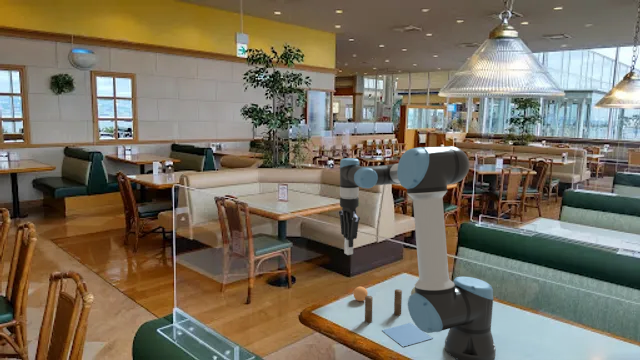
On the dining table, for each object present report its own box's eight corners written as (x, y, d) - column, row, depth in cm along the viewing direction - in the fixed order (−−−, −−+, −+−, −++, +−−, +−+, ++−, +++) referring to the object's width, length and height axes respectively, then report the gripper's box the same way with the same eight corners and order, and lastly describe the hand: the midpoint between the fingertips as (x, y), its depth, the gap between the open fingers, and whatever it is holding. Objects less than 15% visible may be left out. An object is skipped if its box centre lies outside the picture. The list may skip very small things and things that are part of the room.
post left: (373, 321, 162) (373, 298, 160) (367, 323, 160) (367, 299, 159) (369, 318, 164) (369, 295, 162) (363, 320, 163) (363, 296, 161)
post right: (402, 314, 167) (403, 291, 166) (396, 315, 166) (397, 292, 164) (398, 311, 169) (399, 288, 168) (392, 313, 168) (393, 290, 167)
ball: (370, 301, 178) (370, 288, 177) (357, 304, 175) (358, 291, 174) (362, 296, 183) (362, 283, 182) (350, 299, 180) (350, 285, 179)
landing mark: (432, 338, 150) (432, 338, 150) (403, 347, 145) (403, 346, 145) (410, 323, 160) (410, 322, 160) (381, 330, 155) (381, 330, 155)
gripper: (366, 199, 176) (365, 257, 180) (348, 193, 189) (348, 247, 193) (349, 201, 173) (349, 260, 177) (332, 194, 185) (332, 250, 189)
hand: (348, 253), depth 185 cm, fingers closed
